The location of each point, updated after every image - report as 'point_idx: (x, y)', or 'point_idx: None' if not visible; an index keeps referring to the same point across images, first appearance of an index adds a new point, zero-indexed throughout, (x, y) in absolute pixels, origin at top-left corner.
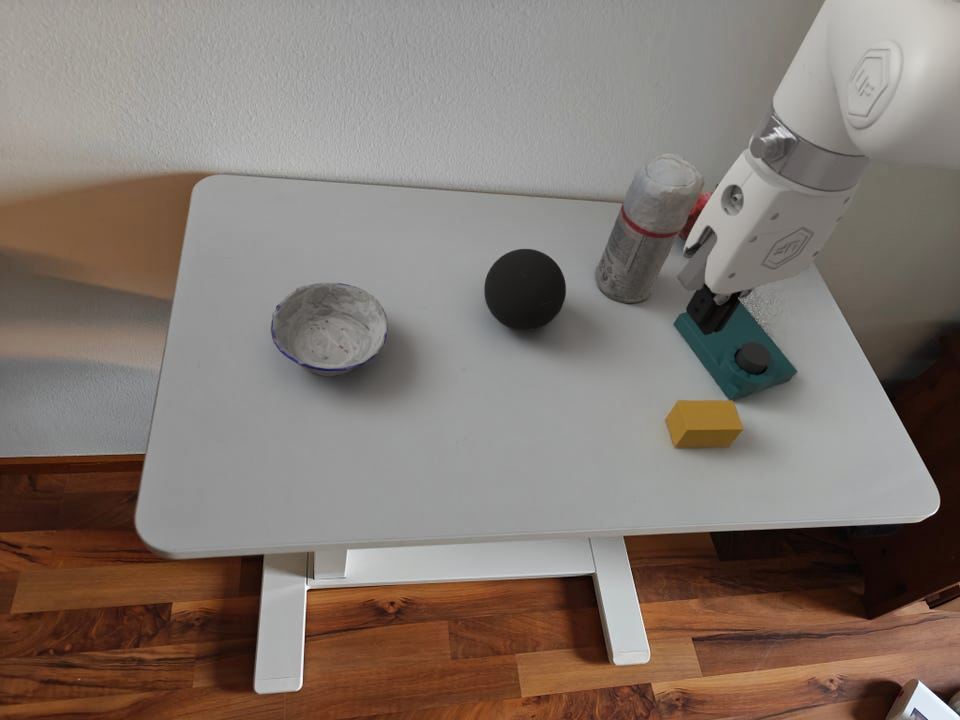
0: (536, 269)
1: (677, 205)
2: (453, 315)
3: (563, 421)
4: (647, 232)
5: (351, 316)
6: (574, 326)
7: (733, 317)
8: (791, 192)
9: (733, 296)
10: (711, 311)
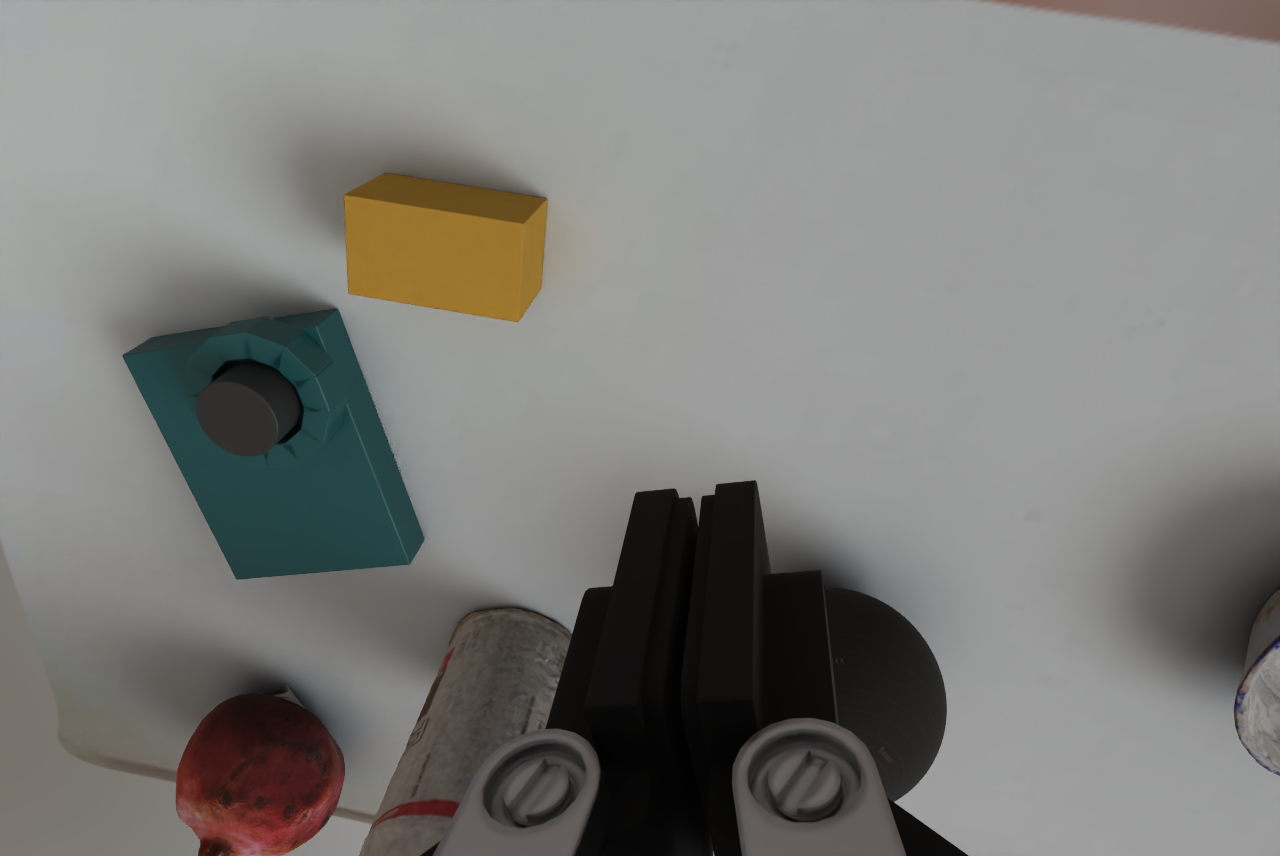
0: None
1: None
2: (985, 651)
3: (833, 331)
4: None
5: (1274, 695)
6: None
7: (263, 531)
8: None
9: (627, 759)
10: (771, 646)
